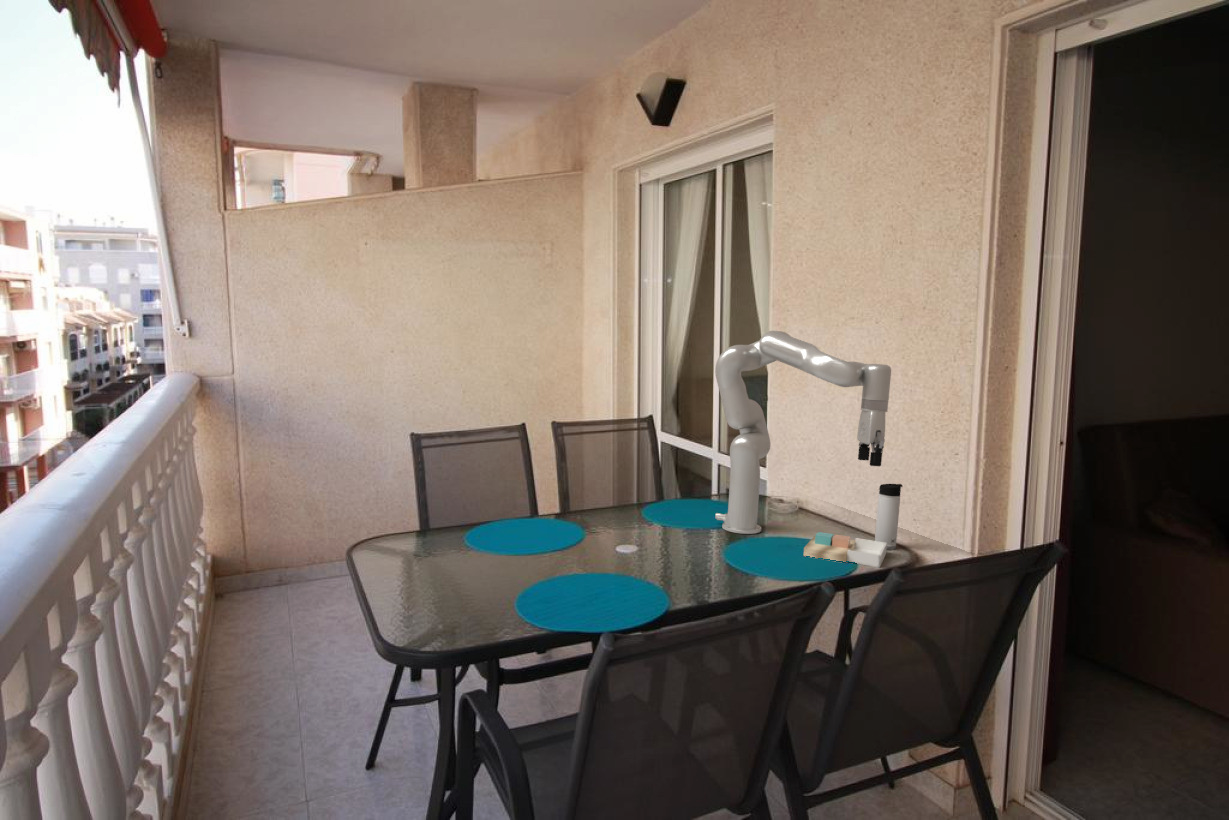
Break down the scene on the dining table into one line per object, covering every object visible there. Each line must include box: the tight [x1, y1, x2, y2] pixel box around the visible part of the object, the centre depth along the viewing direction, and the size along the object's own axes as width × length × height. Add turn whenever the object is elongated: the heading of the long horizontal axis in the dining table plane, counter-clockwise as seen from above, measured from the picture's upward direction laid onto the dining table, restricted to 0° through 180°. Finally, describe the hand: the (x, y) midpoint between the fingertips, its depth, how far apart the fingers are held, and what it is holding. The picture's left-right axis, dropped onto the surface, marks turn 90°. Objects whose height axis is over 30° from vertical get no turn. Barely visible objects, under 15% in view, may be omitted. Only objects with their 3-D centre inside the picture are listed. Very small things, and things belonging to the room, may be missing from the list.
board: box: [803, 535, 855, 563], centre depth 228 cm, size 12×18×2 cm, turn 154°
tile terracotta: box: [832, 534, 852, 549], centre depth 227 cm, size 4×4×2 cm
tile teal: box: [814, 531, 835, 546], centre depth 229 cm, size 4×4×2 cm
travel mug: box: [874, 483, 903, 551], centre depth 236 cm, size 6×7×20 cm
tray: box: [847, 537, 887, 569], centre depth 224 cm, size 9×16×4 cm, turn 154°
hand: (869, 462), depth 229 cm, fingers open, 9 cm apart
